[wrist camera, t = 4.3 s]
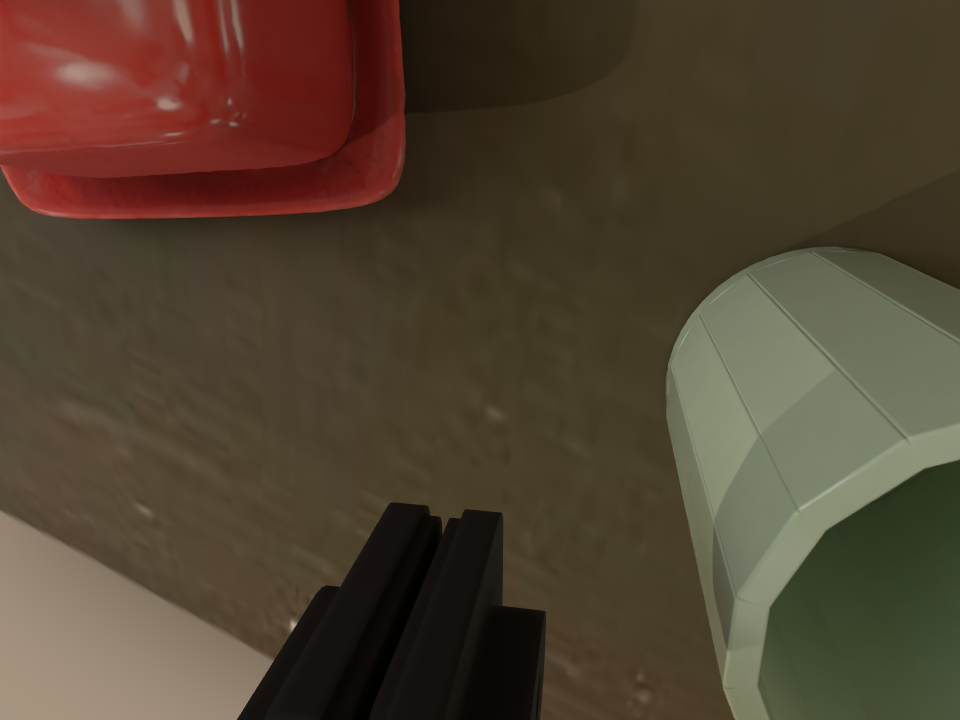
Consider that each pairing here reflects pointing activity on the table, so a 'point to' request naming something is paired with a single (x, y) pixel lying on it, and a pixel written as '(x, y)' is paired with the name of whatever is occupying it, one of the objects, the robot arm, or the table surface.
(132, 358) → the table surface
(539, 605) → the table surface
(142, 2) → the butter dish
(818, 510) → the cup
